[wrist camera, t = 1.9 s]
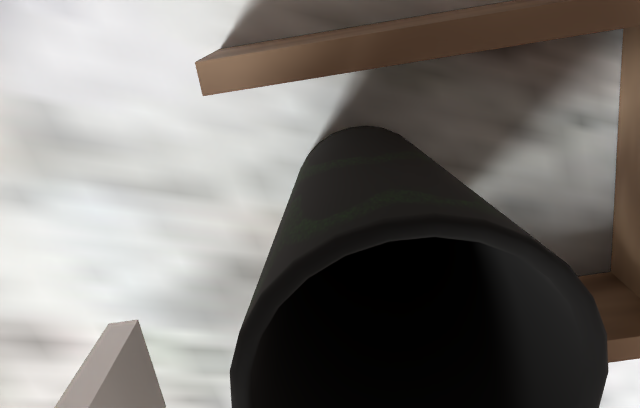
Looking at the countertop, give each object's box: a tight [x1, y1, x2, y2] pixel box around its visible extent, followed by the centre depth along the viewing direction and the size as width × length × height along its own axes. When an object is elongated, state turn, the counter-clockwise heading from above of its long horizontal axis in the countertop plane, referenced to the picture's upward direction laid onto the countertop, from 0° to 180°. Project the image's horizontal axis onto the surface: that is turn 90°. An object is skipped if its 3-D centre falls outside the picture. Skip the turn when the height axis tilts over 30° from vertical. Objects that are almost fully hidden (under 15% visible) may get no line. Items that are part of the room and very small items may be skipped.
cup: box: [230, 126, 608, 408], centre depth 16 cm, size 8×8×12 cm
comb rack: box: [195, 0, 640, 363], centre depth 17 cm, size 25×17×6 cm
